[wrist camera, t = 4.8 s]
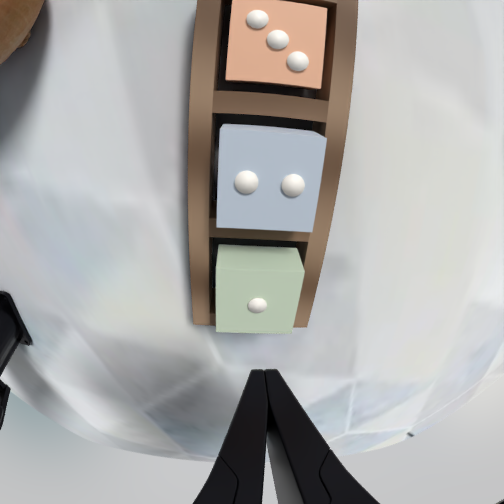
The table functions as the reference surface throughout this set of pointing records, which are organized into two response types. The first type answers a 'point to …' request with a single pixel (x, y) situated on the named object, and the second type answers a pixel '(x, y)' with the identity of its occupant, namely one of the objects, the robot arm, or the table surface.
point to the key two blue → (268, 177)
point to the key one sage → (257, 289)
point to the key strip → (318, 110)
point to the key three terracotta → (276, 43)
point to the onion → (16, 24)
